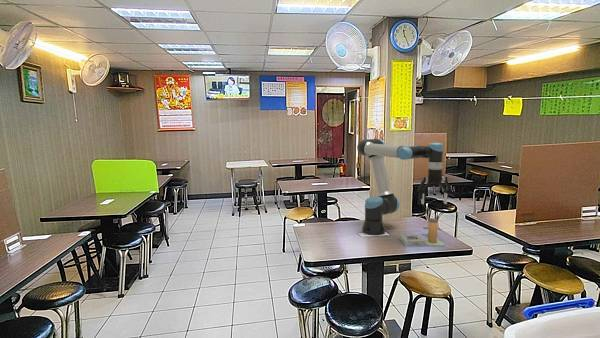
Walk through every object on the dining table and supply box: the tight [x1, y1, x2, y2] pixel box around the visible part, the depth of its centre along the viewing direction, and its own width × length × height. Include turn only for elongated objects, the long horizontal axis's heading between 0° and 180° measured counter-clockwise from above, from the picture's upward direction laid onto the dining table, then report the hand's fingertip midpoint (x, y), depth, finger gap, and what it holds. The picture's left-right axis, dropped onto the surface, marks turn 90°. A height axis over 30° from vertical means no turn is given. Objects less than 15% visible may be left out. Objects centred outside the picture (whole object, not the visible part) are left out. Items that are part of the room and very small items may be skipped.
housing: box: [399, 233, 427, 247], centre depth 193 cm, size 12×12×3 cm
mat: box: [423, 238, 446, 247], centre depth 192 cm, size 11×10×1 cm
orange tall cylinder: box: [427, 218, 439, 243], centre depth 191 cm, size 5×5×14 cm
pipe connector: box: [422, 224, 441, 230], centre depth 205 cm, size 10×10×10 cm
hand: (433, 203), depth 189 cm, fingers open, 13 cm apart
